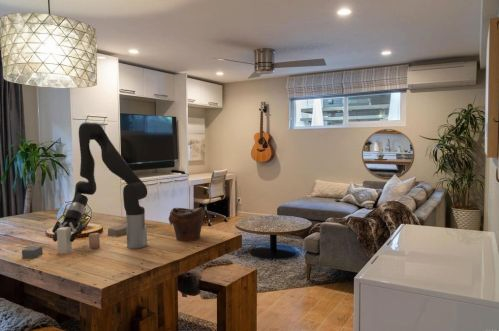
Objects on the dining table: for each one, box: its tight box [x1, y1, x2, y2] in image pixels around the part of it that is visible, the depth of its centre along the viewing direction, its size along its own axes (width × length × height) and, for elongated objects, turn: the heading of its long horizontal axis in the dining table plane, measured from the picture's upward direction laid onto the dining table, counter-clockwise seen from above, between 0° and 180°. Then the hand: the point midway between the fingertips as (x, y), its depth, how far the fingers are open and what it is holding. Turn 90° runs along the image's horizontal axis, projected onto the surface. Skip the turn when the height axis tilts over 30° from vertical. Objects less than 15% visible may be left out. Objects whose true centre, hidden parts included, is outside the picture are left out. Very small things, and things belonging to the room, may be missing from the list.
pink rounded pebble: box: [88, 232, 101, 250], centre depth 183 cm, size 5×5×7 cm
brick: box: [107, 222, 127, 238], centre depth 211 cm, size 17×8×5 cm, turn 151°
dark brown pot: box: [168, 206, 205, 242], centre depth 198 cm, size 18×20×18 cm
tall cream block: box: [56, 227, 73, 255], centre depth 175 cm, size 4×4×12 cm
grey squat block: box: [21, 245, 43, 259], centre depth 170 cm, size 6×6×4 cm
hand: (62, 241), depth 174 cm, fingers open, 8 cm apart
